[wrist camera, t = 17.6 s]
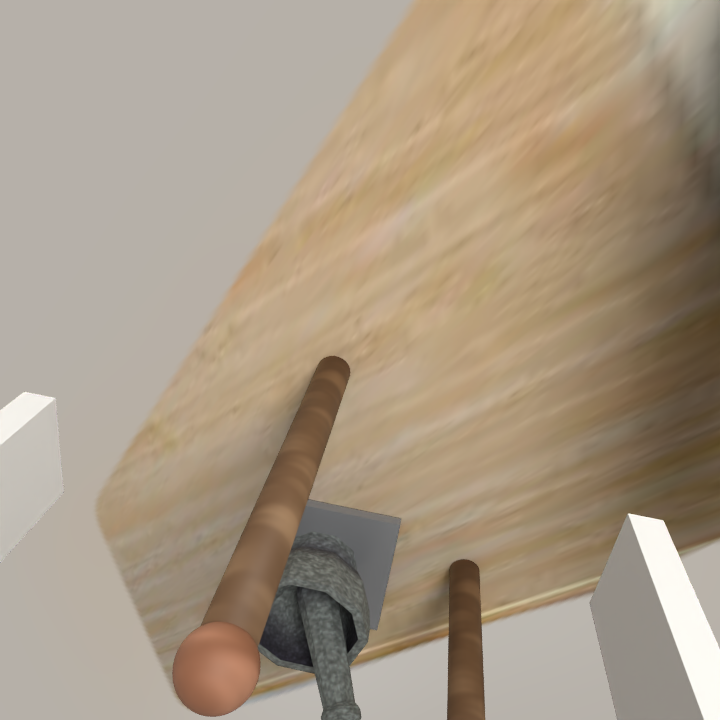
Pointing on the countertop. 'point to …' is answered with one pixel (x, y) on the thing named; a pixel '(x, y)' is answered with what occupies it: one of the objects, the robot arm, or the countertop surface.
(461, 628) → the post
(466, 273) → the countertop surface
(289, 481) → the post
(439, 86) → the countertop surface
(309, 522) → the slate pad
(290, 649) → the mortar and pestle
